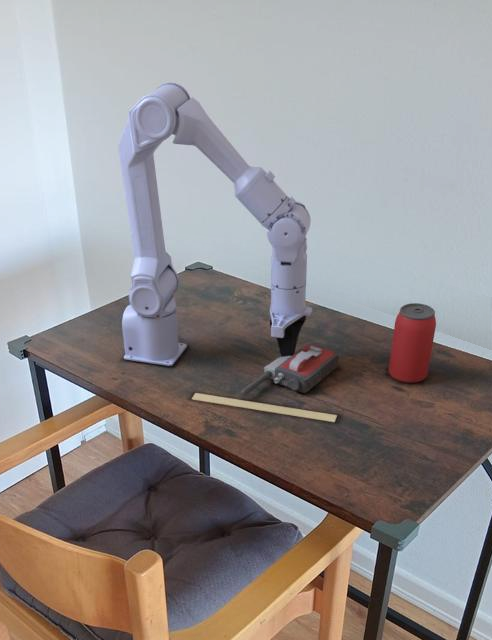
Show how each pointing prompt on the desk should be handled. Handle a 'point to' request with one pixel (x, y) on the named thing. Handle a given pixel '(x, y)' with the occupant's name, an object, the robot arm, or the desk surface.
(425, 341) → the beer can
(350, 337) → the desk surface
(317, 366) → the walkie-talkie
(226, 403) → the tape line
